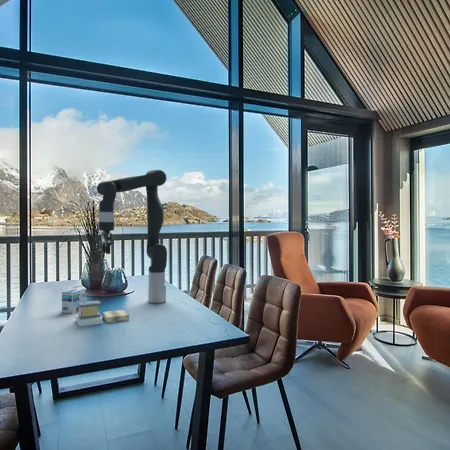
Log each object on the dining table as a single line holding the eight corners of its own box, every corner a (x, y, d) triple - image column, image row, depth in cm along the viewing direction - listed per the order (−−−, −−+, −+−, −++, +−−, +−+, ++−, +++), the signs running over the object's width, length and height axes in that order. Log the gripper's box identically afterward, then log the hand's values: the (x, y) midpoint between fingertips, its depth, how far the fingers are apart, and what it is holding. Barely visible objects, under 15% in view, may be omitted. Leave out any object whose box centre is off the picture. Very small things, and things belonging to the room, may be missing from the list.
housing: (98, 313, 167) (98, 300, 167) (100, 316, 163) (100, 303, 162) (78, 316, 163) (78, 302, 163) (79, 319, 158) (79, 305, 158)
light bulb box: (73, 313, 176) (73, 292, 176) (61, 312, 177) (61, 291, 177) (85, 308, 186) (85, 287, 186) (74, 307, 188) (74, 287, 187)
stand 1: (98, 317, 170) (98, 312, 170) (102, 323, 161) (102, 318, 161) (76, 320, 165) (76, 315, 165) (78, 326, 156) (78, 320, 156)
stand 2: (123, 314, 175) (123, 309, 175) (128, 320, 167) (128, 314, 167) (102, 317, 171) (102, 312, 171) (106, 322, 162) (107, 317, 162)
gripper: (117, 221, 174) (116, 254, 175) (111, 220, 187) (110, 251, 187) (101, 221, 171) (101, 254, 171) (96, 220, 183) (96, 251, 183)
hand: (106, 253), depth 179 cm, fingers open, 8 cm apart
